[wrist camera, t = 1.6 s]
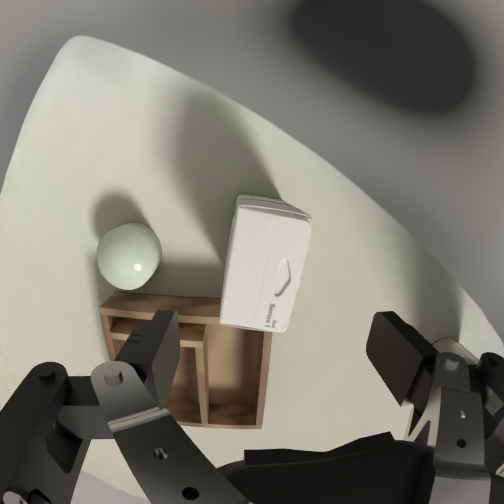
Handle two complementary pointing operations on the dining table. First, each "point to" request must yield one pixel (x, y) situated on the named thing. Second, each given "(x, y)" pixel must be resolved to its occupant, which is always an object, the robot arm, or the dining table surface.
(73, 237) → the dining table surface
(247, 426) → the organizer
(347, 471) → the robot arm
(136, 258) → the white domed round part
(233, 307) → the ink box
